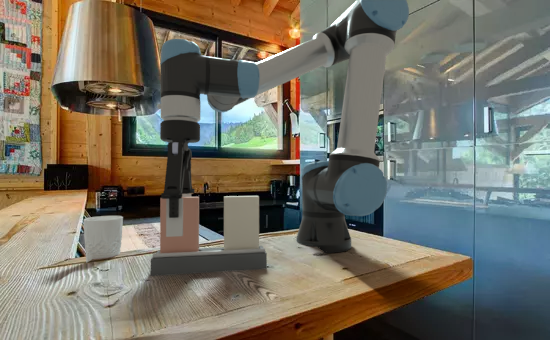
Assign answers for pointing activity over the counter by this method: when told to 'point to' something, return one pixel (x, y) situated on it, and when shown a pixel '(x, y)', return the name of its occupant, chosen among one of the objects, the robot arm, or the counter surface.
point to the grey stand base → (208, 261)
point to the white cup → (102, 236)
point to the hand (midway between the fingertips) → (180, 229)
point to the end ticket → (190, 228)
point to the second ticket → (241, 222)
